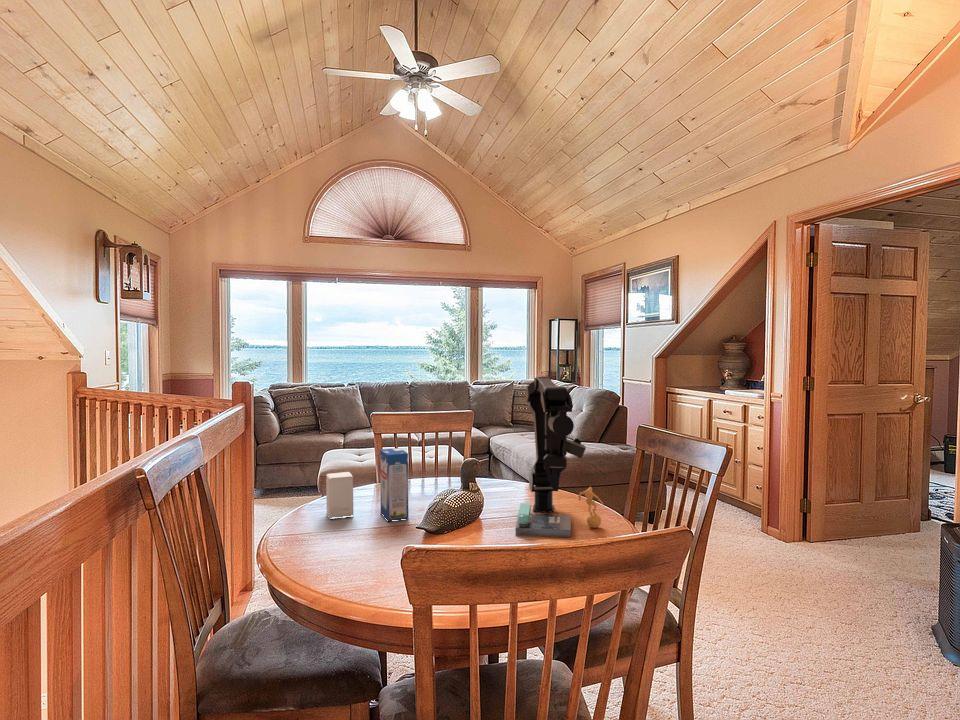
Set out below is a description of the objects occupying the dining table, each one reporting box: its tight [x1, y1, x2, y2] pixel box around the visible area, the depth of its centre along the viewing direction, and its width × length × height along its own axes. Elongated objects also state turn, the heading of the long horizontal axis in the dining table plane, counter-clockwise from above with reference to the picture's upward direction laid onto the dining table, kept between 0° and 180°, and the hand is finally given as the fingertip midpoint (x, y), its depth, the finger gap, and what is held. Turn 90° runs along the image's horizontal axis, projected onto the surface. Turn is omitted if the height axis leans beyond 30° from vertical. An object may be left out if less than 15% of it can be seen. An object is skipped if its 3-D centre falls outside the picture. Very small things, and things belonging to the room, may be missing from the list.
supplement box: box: [325, 471, 354, 519], centre depth 166 cm, size 7×7×13 cm
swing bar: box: [517, 502, 532, 524], centre depth 154 cm, size 13×3×2 cm, turn 172°
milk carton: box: [379, 447, 409, 521], centre depth 165 cm, size 10×6×20 cm, turn 23°
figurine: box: [578, 486, 605, 529], centre depth 153 cm, size 8×6×12 cm
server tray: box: [515, 512, 572, 538], centre depth 154 cm, size 14×15×3 cm
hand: (555, 485), depth 154 cm, fingers open, 9 cm apart
